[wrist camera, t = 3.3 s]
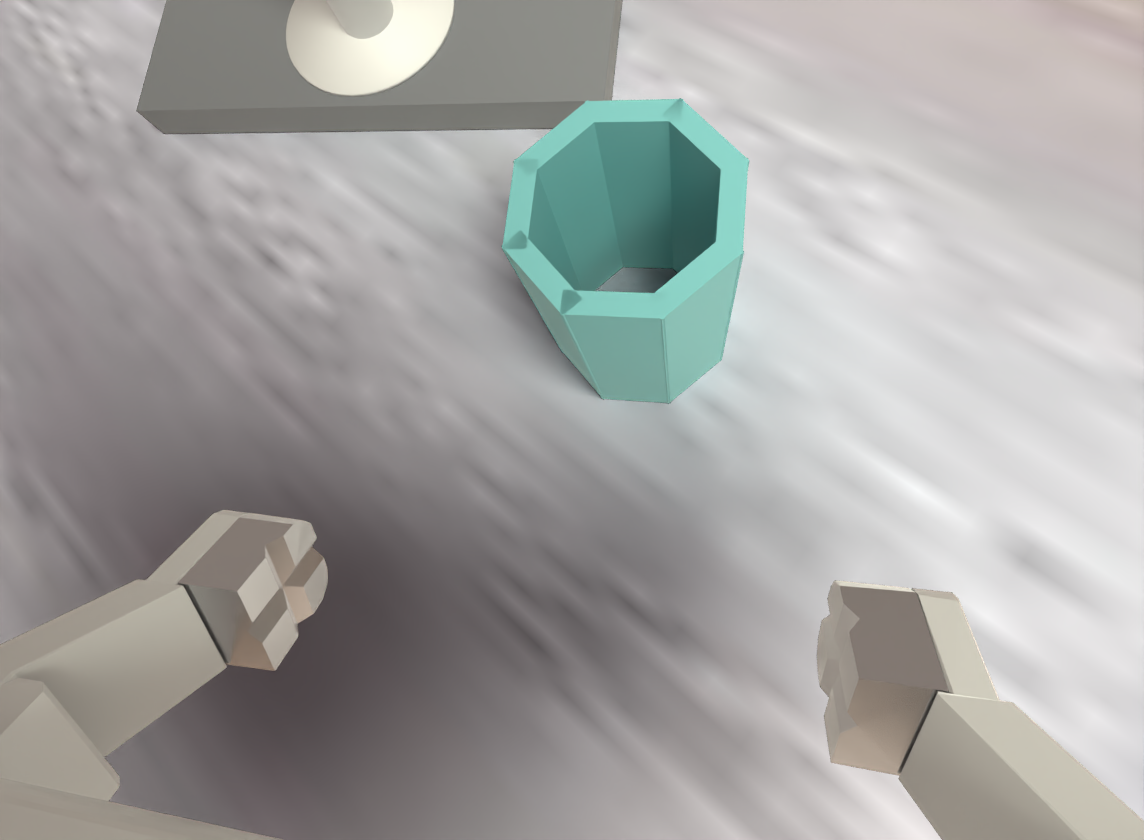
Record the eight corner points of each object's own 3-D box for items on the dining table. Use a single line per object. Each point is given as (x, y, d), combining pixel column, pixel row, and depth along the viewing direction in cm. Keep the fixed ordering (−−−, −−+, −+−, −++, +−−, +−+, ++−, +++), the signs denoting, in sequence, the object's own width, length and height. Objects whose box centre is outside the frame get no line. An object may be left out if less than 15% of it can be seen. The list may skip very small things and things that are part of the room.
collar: (556, 396, 23) (492, 312, 15) (573, 250, 24) (521, 101, 16) (718, 407, 22) (739, 323, 14) (728, 253, 23) (752, 96, 15)
